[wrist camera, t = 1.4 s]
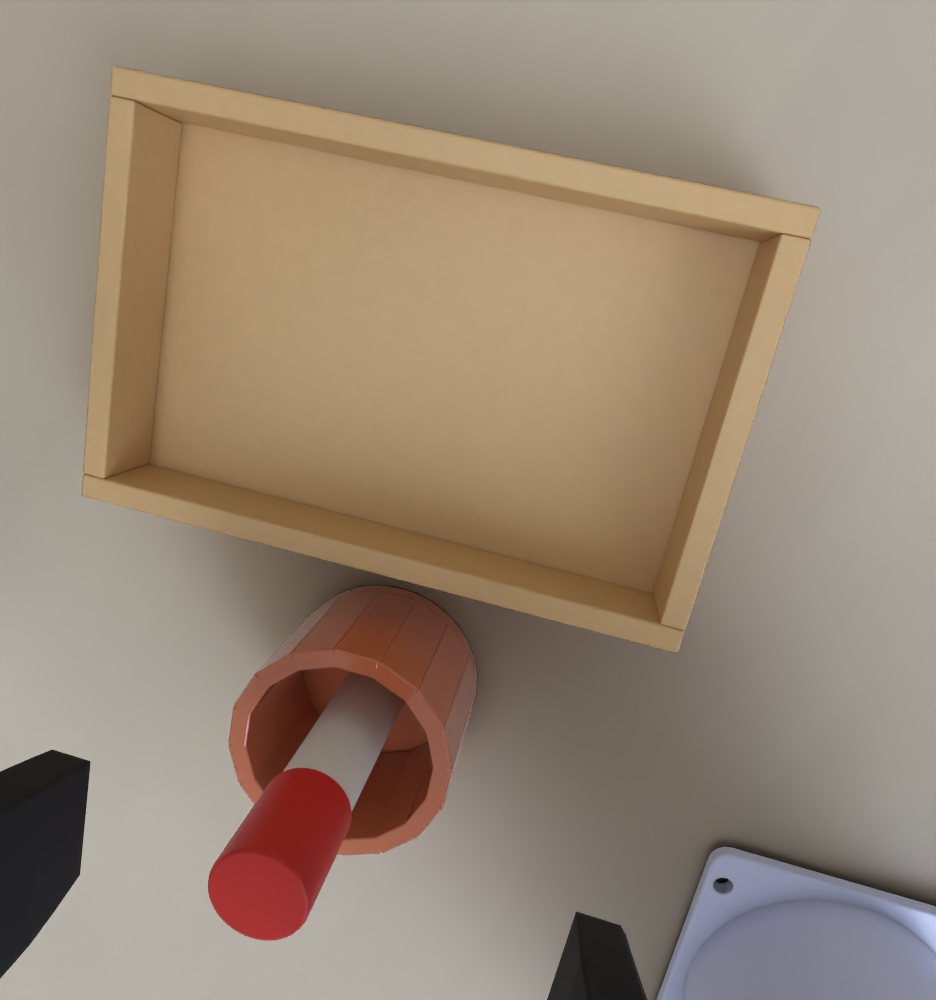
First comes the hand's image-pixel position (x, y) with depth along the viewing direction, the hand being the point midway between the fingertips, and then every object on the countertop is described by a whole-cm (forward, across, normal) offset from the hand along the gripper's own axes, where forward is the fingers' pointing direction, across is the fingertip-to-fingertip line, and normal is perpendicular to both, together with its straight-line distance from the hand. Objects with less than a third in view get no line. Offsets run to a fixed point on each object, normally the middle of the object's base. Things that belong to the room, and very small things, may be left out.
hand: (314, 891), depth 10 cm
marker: (+10, +1, +2) cm, 10 cm away
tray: (+10, +2, -6) cm, 12 cm away
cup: (+10, +1, +2) cm, 11 cm away
